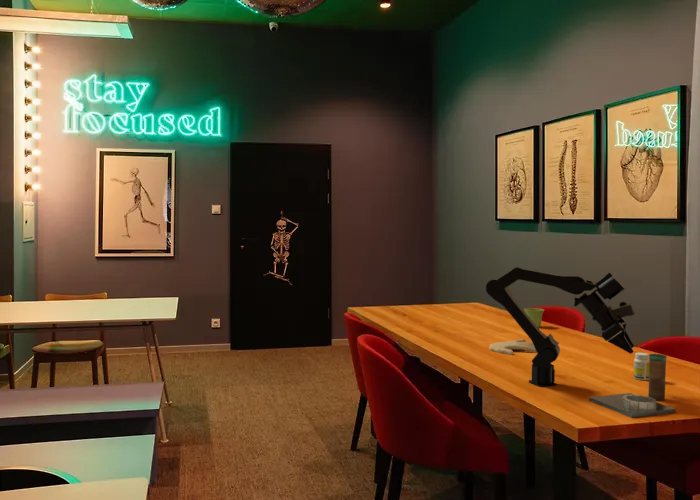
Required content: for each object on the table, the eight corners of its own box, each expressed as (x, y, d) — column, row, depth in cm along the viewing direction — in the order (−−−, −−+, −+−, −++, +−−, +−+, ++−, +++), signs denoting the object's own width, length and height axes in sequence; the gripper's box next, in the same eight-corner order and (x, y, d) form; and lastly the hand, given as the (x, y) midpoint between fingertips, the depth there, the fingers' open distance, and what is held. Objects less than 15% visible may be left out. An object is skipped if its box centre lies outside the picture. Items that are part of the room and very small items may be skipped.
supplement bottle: (644, 376, 217) (645, 352, 217) (651, 380, 212) (652, 355, 212) (630, 377, 217) (631, 352, 217) (637, 380, 212) (638, 355, 212)
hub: (631, 417, 172) (631, 406, 172) (589, 400, 188) (589, 390, 188) (675, 412, 177) (675, 401, 177) (630, 396, 193) (630, 386, 193)
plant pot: (520, 325, 320) (520, 308, 320) (534, 324, 324) (535, 307, 324) (532, 328, 312) (533, 311, 311) (547, 327, 316) (548, 310, 315)
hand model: (488, 339, 271) (537, 335, 267) (489, 350, 271) (538, 346, 267) (489, 351, 252) (541, 346, 248) (490, 362, 253) (543, 358, 249)
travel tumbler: (656, 401, 188) (657, 357, 187) (644, 397, 192) (645, 354, 191) (668, 400, 189) (670, 356, 188) (656, 396, 193) (658, 353, 193)
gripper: (618, 296, 188) (655, 339, 184) (620, 290, 205) (655, 329, 201) (587, 319, 192) (622, 361, 188) (592, 311, 209) (625, 350, 205)
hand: (632, 349), depth 195 cm, fingers open, 9 cm apart
